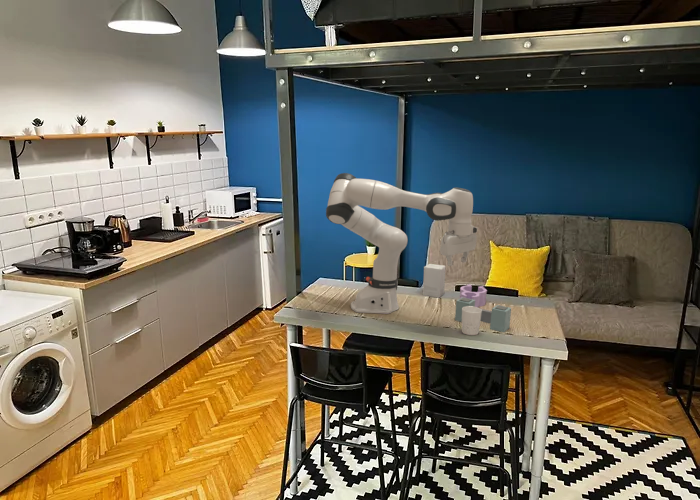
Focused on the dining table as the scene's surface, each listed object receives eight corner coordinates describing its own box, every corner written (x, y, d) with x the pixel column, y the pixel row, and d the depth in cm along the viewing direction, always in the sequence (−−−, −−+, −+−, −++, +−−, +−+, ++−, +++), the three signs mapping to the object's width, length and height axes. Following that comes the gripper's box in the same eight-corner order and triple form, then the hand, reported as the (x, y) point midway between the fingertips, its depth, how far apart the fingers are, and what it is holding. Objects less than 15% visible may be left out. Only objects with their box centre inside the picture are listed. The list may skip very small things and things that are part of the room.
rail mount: (504, 332, 208) (506, 310, 206) (454, 320, 220) (456, 299, 218) (510, 326, 214) (513, 305, 212) (462, 315, 227) (464, 295, 225)
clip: (481, 312, 232) (482, 298, 231) (454, 308, 237) (455, 294, 235) (487, 300, 250) (488, 287, 249) (462, 296, 255) (463, 283, 253)
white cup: (476, 328, 211) (478, 306, 209) (482, 336, 203) (484, 312, 201) (458, 328, 210) (459, 306, 208) (463, 335, 203) (464, 312, 201)
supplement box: (444, 293, 259) (446, 265, 256) (439, 298, 251) (441, 269, 248) (427, 290, 263) (429, 263, 260) (422, 295, 255) (423, 266, 252)
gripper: (451, 233, 188) (448, 269, 190) (480, 228, 202) (477, 261, 204) (437, 231, 192) (434, 266, 195) (467, 225, 206) (464, 258, 209)
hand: (457, 263), depth 200 cm, fingers open, 8 cm apart
